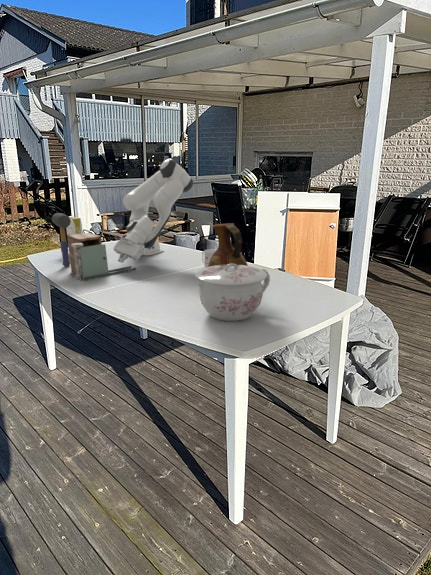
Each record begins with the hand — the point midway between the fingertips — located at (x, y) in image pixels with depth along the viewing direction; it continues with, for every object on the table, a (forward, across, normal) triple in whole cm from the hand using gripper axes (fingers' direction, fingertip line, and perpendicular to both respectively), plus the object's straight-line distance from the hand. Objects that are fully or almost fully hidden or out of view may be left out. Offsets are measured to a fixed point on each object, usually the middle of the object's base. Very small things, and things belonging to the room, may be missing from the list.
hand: (119, 261), depth 216 cm
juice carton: (+2, +58, -10) cm, 59 cm away
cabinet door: (+14, +1, +6) cm, 15 cm away
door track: (+9, 0, +1) cm, 9 cm away
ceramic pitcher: (-13, -59, -17) cm, 63 cm away
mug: (-22, -34, -28) cm, 49 cm away
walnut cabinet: (+15, +9, +7) cm, 19 cm away
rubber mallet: (+16, +31, +6) cm, 35 cm away
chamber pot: (+6, -86, +3) cm, 86 cm away
